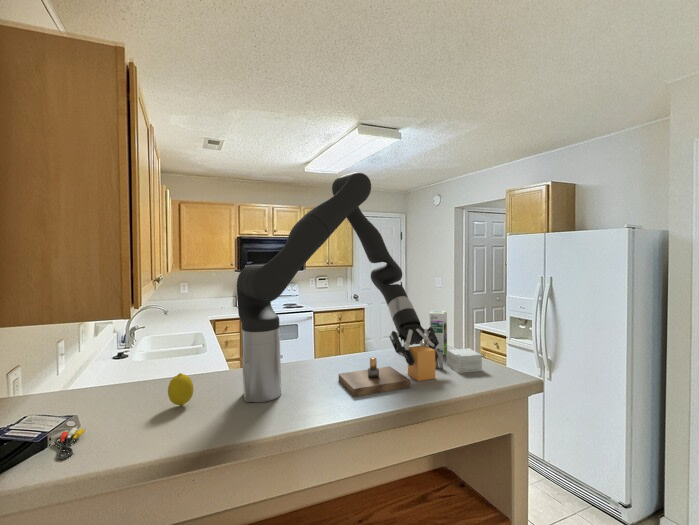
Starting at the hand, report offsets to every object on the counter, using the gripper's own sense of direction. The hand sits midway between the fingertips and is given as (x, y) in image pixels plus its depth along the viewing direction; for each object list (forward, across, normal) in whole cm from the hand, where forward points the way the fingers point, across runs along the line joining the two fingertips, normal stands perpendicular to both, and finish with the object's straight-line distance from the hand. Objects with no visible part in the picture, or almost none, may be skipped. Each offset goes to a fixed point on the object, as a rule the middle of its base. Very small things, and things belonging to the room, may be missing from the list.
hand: (424, 362), depth 102 cm
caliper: (-7, +7, +14) cm, 17 cm away
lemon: (-1, -63, +8) cm, 64 cm away
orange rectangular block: (+2, 0, +4) cm, 5 cm away
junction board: (+2, -15, +4) cm, 16 cm away
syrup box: (-10, +18, +17) cm, 27 cm away
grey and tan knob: (+1, -15, +3) cm, 15 cm away
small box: (+2, +16, +5) cm, 17 cm away
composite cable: (+7, -82, 0) cm, 83 cm away
